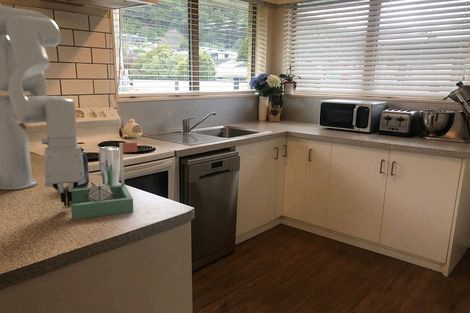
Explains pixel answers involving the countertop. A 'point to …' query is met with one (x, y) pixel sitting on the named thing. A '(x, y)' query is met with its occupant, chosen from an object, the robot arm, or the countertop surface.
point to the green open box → (107, 205)
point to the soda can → (86, 173)
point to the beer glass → (110, 164)
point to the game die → (100, 192)
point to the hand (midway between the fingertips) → (66, 204)
